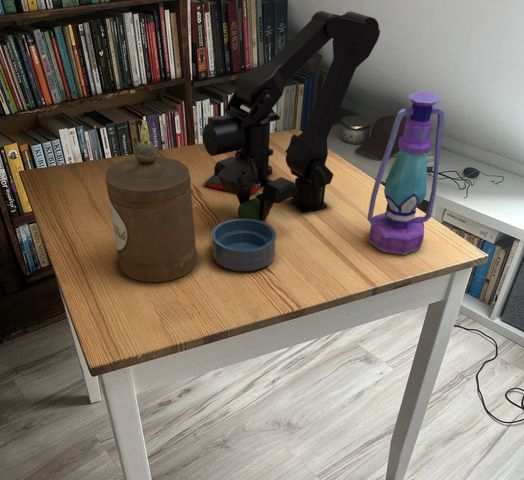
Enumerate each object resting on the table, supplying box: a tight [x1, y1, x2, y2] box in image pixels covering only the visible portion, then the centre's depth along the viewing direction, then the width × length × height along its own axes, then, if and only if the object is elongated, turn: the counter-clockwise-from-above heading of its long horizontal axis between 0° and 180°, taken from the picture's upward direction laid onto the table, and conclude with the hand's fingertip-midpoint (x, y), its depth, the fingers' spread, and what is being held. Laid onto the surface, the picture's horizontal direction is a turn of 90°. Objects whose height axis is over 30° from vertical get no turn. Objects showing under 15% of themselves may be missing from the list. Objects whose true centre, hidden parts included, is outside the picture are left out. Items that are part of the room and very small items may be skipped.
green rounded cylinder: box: [236, 196, 271, 221], centre depth 121 cm, size 8×5×5 cm, turn 136°
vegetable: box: [134, 119, 157, 158], centre depth 117 cm, size 4×4×20 cm
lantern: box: [366, 90, 445, 255], centre depth 108 cm, size 13×12×30 cm
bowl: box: [210, 218, 277, 272], centre depth 110 cm, size 12×12×5 cm
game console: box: [204, 164, 273, 195], centre depth 137 cm, size 14×13×2 cm
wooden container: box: [105, 149, 197, 283], centre depth 102 cm, size 15×15×22 cm
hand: (253, 216), depth 122 cm, fingers closed on green rounded cylinder, 5 cm apart
